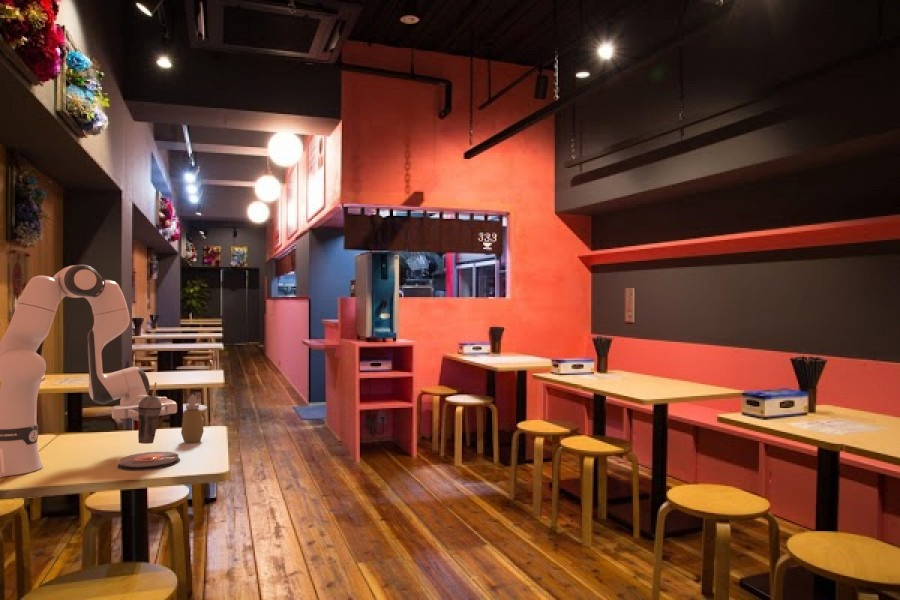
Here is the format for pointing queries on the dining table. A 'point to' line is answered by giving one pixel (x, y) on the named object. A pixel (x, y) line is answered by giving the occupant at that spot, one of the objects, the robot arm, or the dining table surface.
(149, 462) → the dark round disc
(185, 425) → the squeeze bottle
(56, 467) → the dining table surface
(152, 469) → the base
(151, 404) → the beverage cup
